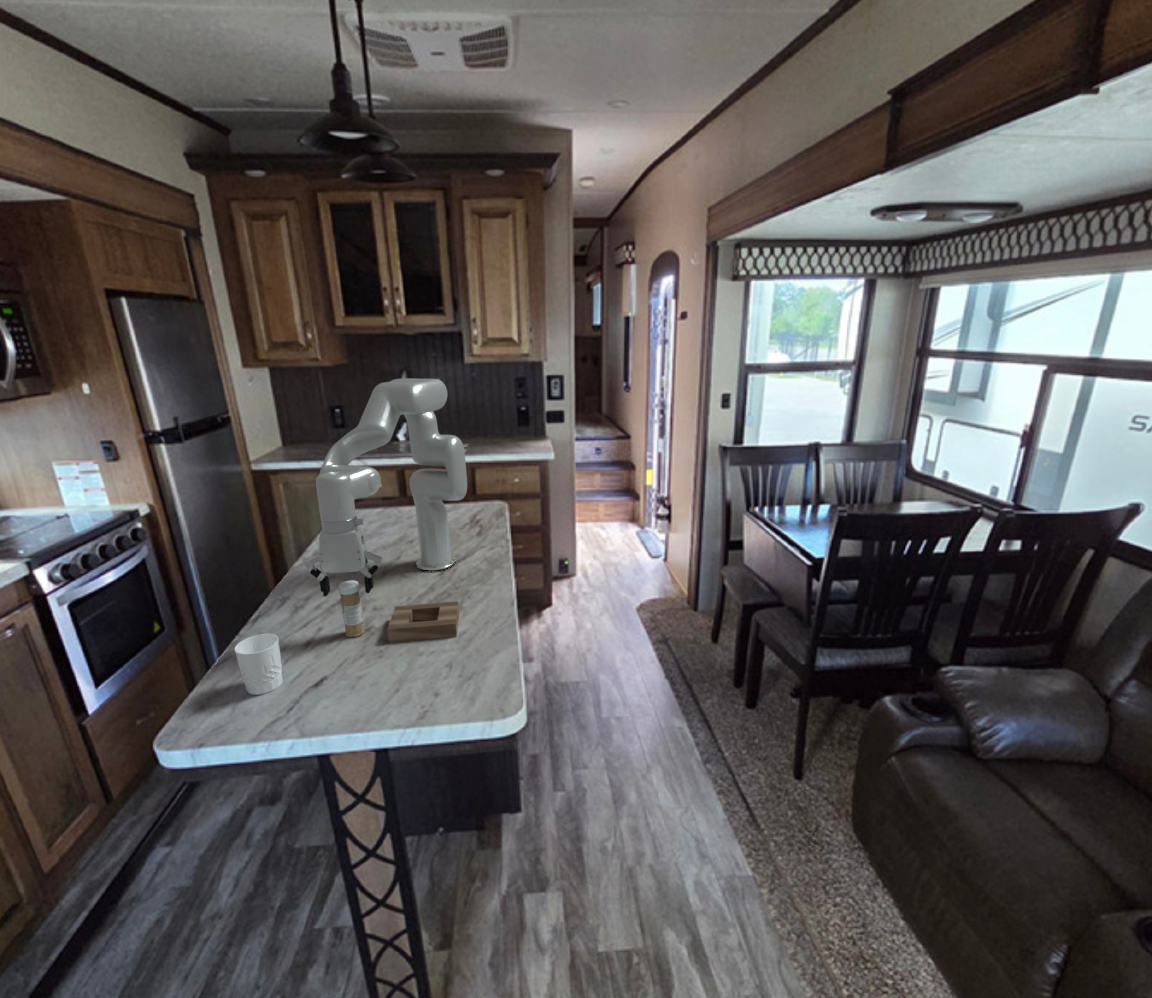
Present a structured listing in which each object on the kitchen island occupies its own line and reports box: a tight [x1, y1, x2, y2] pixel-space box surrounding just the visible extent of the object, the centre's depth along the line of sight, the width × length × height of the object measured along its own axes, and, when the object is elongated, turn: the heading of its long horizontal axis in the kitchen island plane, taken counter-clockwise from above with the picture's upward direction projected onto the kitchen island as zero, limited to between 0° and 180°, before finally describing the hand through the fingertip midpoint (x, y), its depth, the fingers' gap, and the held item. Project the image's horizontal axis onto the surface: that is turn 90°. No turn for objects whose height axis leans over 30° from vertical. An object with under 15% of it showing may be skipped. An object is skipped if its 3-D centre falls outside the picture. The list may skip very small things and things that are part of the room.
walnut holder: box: [386, 600, 460, 643], centre depth 136 cm, size 12×16×4 cm
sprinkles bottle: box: [338, 580, 366, 638], centre depth 132 cm, size 5×5×13 cm
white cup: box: [233, 633, 284, 696], centre depth 113 cm, size 8×8×10 cm
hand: (348, 592), depth 131 cm, fingers open, 9 cm apart
